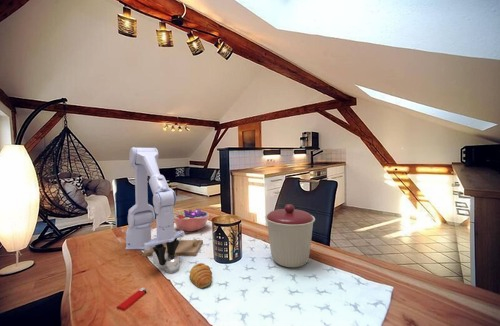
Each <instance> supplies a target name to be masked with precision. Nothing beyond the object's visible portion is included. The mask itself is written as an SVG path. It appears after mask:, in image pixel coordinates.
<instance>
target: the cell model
mask: <svg viewBox="0 0 500 326" xmlns="http://www.w3.org/2000/svg"><path fill="white" fill-rule="evenodd" d="M209 218H210V213H209V212H208V211H206V210H202V209H200V208H196V209H195V210H192V209H189V210H185V209H184V211H181V212H177V213H175V214H174V224H175V227H176V228H177V229H178V230H179V231H184V232H194V231H198V230H201V229H202V228H204V227H205V226H206V224H207V222H208V220H209Z"/></svg>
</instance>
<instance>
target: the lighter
mask: <svg viewBox="0 0 500 326" xmlns="http://www.w3.org/2000/svg"><path fill="white" fill-rule="evenodd" d="M146 294H147V289H146V288H145V287H141V288H139V289H138V290H136V292H134V293H133V294H132V295H130V296H129V297H128V298H126V299H125V300H123V301H122V302H121V303H120V304H118V305H117V306H116V309H117V310H120V311H123V312H124V311H126V310H127V309H129V308H130V307H132V306H133V305H134V304H135V303H136V302H137V301H139V300H140V299H141V298H143V297H144V296H145V295H146Z"/></svg>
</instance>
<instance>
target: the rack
mask: <svg viewBox="0 0 500 326" xmlns="http://www.w3.org/2000/svg"><path fill="white" fill-rule="evenodd" d="M178 240H179V244H178V246H177V248H176V251H175V254H174V256H177V257H196V256H197V254H198V253H199V252H200V249H201V247H202V245H203V244H204V241H203V239H197V238H194V239H178ZM162 245H163V246H164V247H166V250H165V252H166V253H168V252H167V245H166V243H164V244H162ZM153 252H155V251H154V250H153V248H150V250H148V251H147V250H145V249H144V251H143V252H142V257H153Z"/></svg>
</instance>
